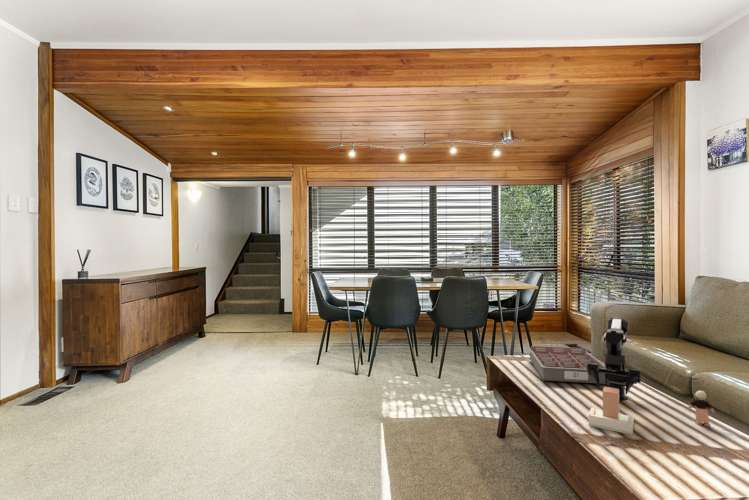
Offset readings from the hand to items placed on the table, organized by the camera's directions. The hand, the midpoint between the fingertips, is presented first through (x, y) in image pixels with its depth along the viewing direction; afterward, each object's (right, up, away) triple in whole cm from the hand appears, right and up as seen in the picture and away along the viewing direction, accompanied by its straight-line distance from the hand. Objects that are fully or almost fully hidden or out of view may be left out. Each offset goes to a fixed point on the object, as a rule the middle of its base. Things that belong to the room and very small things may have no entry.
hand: (612, 391), depth 157 cm
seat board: (-3, -10, -5) cm, 12 cm away
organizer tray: (+9, -11, +57) cm, 59 cm away
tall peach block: (-4, -9, -6) cm, 12 cm away
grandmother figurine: (+30, -10, -6) cm, 32 cm away
